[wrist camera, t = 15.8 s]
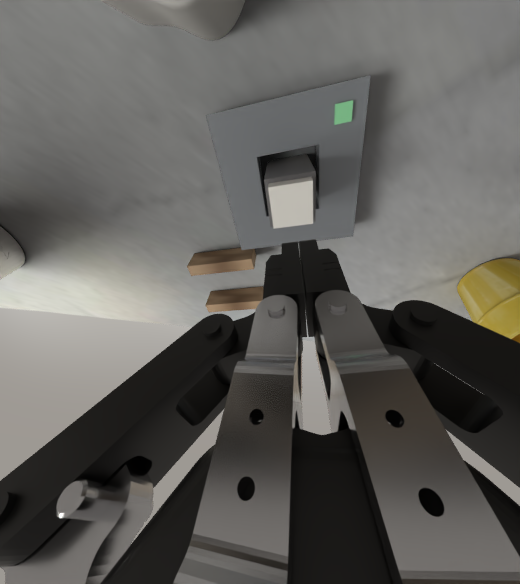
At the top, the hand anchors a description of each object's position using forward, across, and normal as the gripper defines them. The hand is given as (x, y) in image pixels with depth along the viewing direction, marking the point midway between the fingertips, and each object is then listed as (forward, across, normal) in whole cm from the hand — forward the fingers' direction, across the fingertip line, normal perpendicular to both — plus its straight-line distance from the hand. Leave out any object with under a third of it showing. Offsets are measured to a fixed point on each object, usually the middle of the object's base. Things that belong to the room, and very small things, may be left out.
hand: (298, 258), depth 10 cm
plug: (+15, 0, 0) cm, 15 cm away
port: (+15, 0, 0) cm, 15 cm away
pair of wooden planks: (+15, +9, +11) cm, 21 cm away
